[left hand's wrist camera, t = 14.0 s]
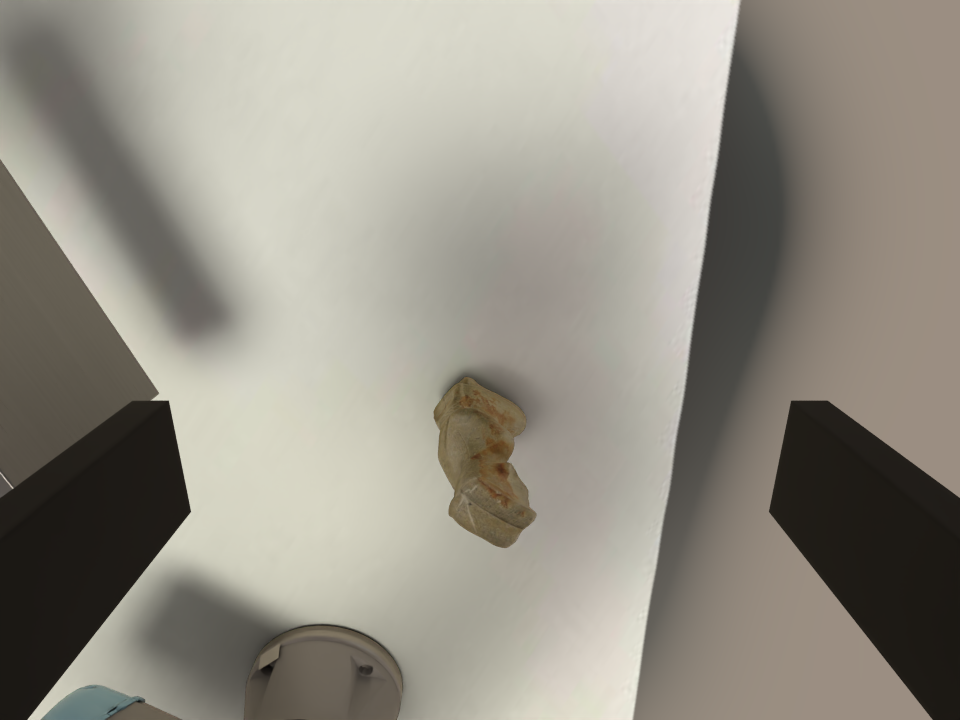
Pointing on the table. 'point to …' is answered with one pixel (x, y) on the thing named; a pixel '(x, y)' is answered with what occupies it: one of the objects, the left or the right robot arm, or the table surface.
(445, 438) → the sculpture
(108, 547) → the left robot arm
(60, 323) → the box
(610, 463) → the table surface
